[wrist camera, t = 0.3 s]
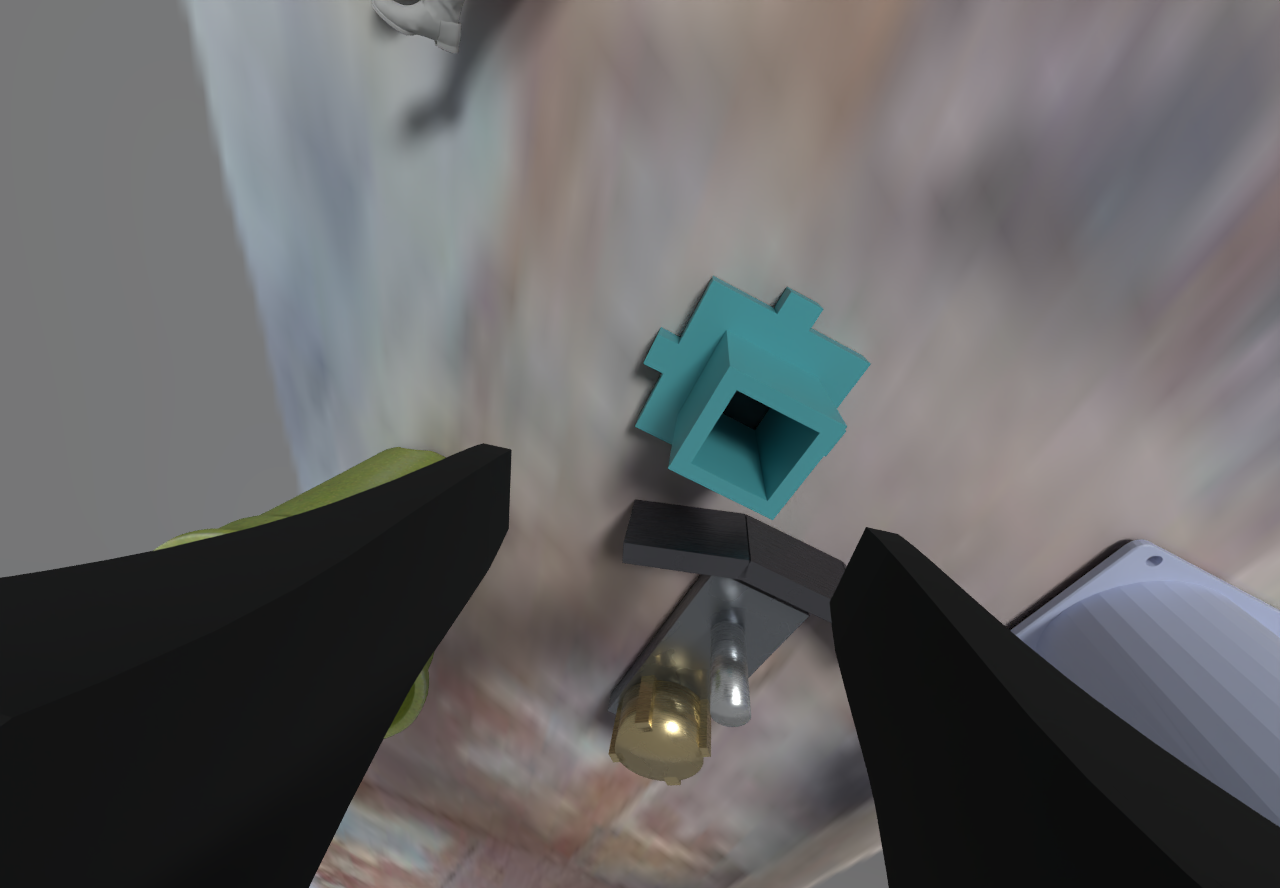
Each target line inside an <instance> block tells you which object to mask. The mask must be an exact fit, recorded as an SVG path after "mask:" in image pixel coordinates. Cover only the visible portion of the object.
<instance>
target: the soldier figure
mask: <svg viewBox="0 0 1280 888" xmlns="http://www.w3.org/2000/svg"><path fill="white" fill-rule="evenodd" d="M463 3H464V0H419V2H418V3H415V4H413V5H402V4H399V3H397V2H395V1H393V0H371V5H372V7H373V9H374V10H375V11H376V13H377V14H378V15H379V16H380V17H381V18H382V19H383V20H384V21H385V22H387V23H388V24H389V25H390V26H391V27H393V28H394V29H396V30H397V31H399V32H401V33H403V34H405V35H421V36H424V37H428V38H430V39H433V40H435V45H436V46H438V47H440V48H441V49H443V50H445V51H447V52H450V53H455V54H457V53H458V51H459V44H460V41H461V23H459V18H460V14H461V9H462V6H463Z"/></svg>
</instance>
